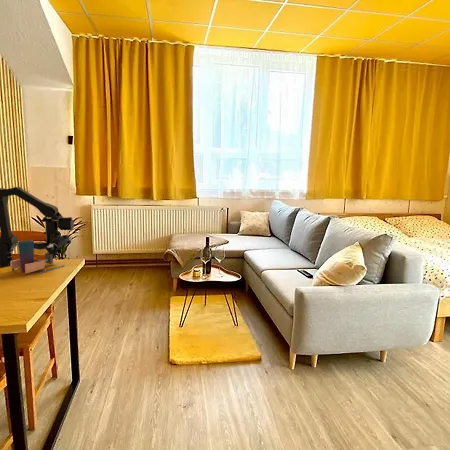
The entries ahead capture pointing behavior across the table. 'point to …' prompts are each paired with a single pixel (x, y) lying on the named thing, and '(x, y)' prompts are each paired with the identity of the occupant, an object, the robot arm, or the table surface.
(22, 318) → the table surface
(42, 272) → the rails
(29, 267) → the caddy
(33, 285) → the table surface
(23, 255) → the cup
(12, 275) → the table surface
